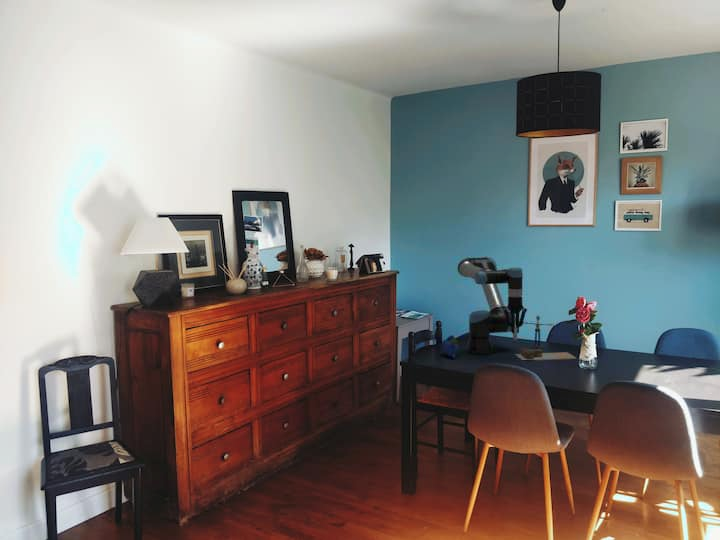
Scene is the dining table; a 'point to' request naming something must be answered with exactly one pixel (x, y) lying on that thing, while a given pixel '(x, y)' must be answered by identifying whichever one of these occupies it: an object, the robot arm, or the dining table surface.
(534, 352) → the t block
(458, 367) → the dining table surface
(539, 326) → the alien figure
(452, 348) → the toy
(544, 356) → the mat
